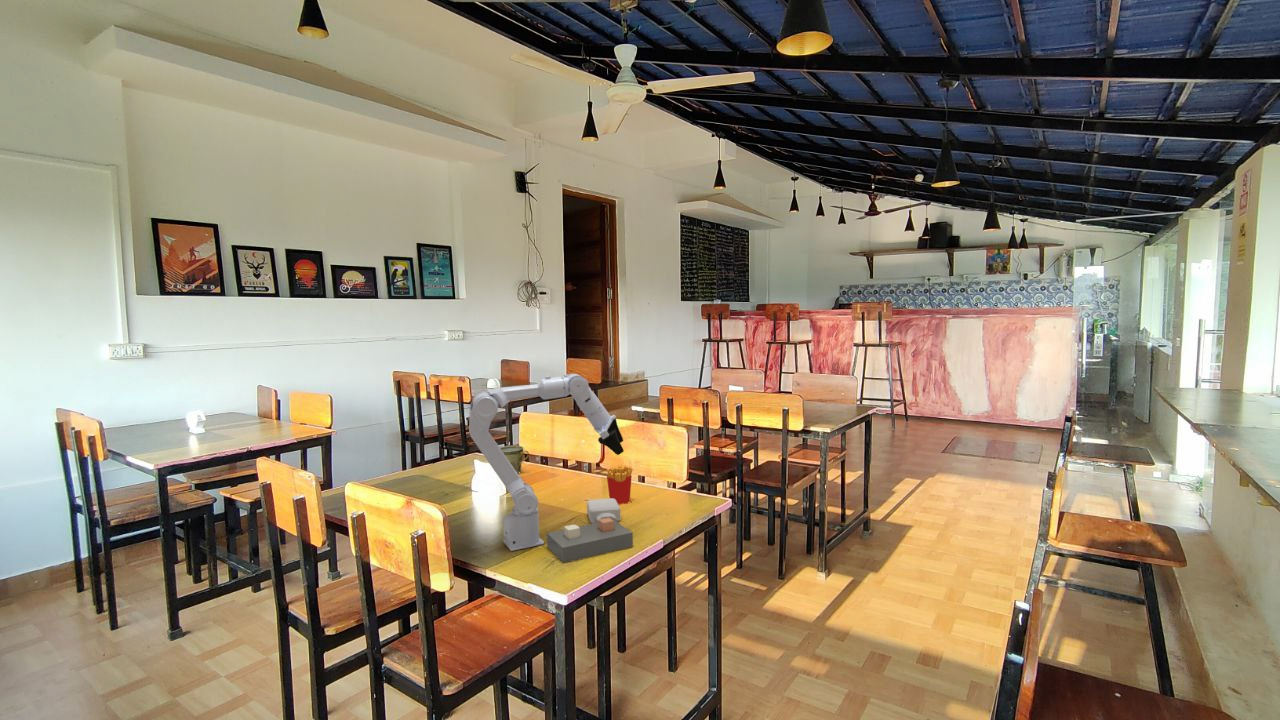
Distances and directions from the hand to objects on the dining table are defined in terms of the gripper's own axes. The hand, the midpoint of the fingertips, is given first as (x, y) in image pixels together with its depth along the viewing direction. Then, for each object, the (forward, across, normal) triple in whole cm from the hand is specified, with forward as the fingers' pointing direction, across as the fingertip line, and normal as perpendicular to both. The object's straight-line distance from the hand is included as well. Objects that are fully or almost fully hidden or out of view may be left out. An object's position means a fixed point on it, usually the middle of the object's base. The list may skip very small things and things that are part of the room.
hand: (620, 447), depth 177 cm
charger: (+19, +3, +18) cm, 26 cm away
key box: (+14, -16, +19) cm, 29 cm away
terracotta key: (+13, -14, +14) cm, 24 cm away
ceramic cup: (+8, +60, +55) cm, 81 cm away
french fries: (+24, +20, +16) cm, 35 cm away
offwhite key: (+8, -18, +21) cm, 29 cm away
